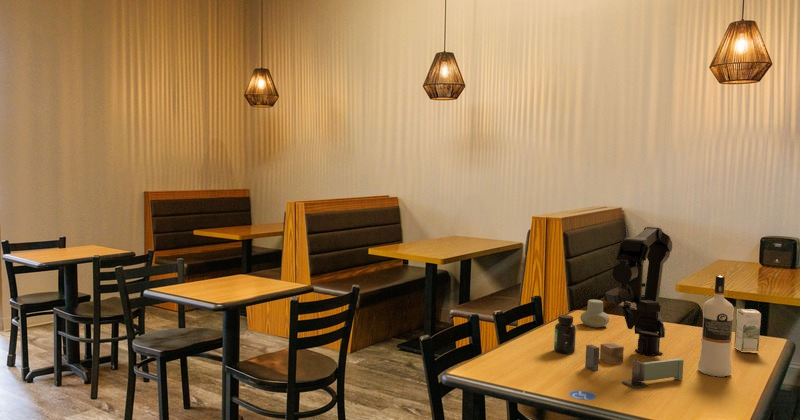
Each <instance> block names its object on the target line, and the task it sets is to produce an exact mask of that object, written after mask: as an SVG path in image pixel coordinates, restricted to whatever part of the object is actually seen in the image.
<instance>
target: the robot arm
mask: <svg viewBox="0 0 800 420" xmlns="http://www.w3.org/2000/svg"><path fill="white" fill-rule="evenodd" d="M672 250H673V242H672V239H671V237H670V236H669V234H667V233H665V232H664V231H663V230H662V228H660V227H657V226H645V227H644V228H643V230H642V231H641V232H640V233H639V234H637V235H636V236H629V237H625V238H624V239H623V240H622V241H621V242H620V245H619V249H618V251H617V255H616V258H615V259H616V261H618V262H619V263H618V264H616V265H614V268H613V270H612V271H611V272H612V273H611V274H612V278H613V279H614V280H615V282H617V283H618V287H614V288H612V289H610V290H608V291H606V292H605V294H604V298H603V299H604V301H605V302H607V303H608V304H612V305H614V306H616V307H617V308H618V309H620V310H621V311H622V314H623V317H624V320H625V323H626V327H627V329H628V330H633V329H634V334H635V335H637V334H638V339H637V348H634V351H635V352H637V353H640V354H642V355H645V356H649V357H651V356H659V355H664V354H663V352H662V351H660V344H661V343H660V339H664V338H665V337H666V328H665V325H664V322H663V318H662V317H663V315H662V313H661V304H660V303H659V302H660V291H661V285H662V284H661V283H662V275H663V268H664V263H666V261H668V259H669V258H670V253H672ZM646 261H647V262H648V265H647V266H648V267H647V274H646V281H645V283H644V282H643V278H644V264H645V262H646ZM643 287H645V289H644V295H643Z"/></svg>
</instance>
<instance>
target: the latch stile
mask: <svg viewBox="0 0 800 420" xmlns="http://www.w3.org/2000/svg"><path fill="white" fill-rule="evenodd" d="M599 364H600V347H598V346H596V345H593V344H586V346H585V366H584V367H585V368H586V369H588V370H590V371H593V372H594V371H595V372H596V371H599Z"/></svg>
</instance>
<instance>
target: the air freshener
mask: <svg viewBox="0 0 800 420" xmlns="http://www.w3.org/2000/svg"><path fill="white" fill-rule="evenodd" d="M586 309H587V310H585V311H583V312H582V313H581V314H580V316H579V319H580V322H582V323H583V324H584V325H585V326H587V327H590V328H593V327H594V329H595V328H596V329H598V328H603V327H605V326H607V325H608V324H609V323H610V316H609V315H608V314H607V313H606V312H604V301H603V300H600V299H589V300H587V308H586Z"/></svg>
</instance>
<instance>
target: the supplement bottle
mask: <svg viewBox="0 0 800 420" xmlns="http://www.w3.org/2000/svg"><path fill="white" fill-rule="evenodd" d="M557 317H558V318H557V321H558V323H556V324H555V325H554V335H553V336H554V337H553V339H554V341H553V350H554V352H555V353H558V354H561V355H572V354H575V352H576V333H577V332H576V331H577V329H576V325H575V324H573V323H574V317H573V316H572V315H568V314H559V315H558V316H557Z"/></svg>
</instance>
